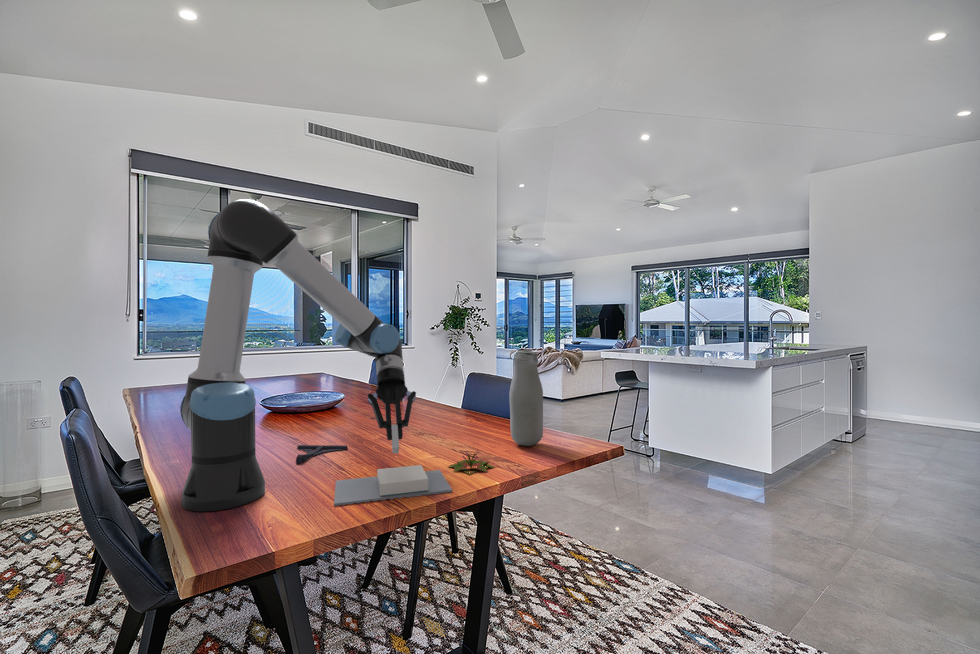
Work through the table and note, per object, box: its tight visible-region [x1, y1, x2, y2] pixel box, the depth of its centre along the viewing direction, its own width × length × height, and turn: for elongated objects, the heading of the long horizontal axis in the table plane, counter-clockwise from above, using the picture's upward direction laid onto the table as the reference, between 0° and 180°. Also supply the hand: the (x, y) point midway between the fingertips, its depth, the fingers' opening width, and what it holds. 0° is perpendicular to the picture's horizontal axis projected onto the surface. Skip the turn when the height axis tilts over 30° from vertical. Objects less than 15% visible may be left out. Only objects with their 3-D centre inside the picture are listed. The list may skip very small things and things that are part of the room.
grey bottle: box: [508, 349, 544, 447], centre depth 136 cm, size 10×10×28 cm
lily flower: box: [448, 449, 496, 475], centre depth 115 cm, size 12×12×5 cm
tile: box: [376, 464, 428, 496], centre depth 101 cm, size 10×3×10 cm
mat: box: [333, 469, 453, 507], centre depth 102 cm, size 24×14×1 cm, turn 107°
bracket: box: [295, 444, 349, 465], centre depth 127 cm, size 14×15×3 cm
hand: (395, 450), depth 113 cm, fingers closed
